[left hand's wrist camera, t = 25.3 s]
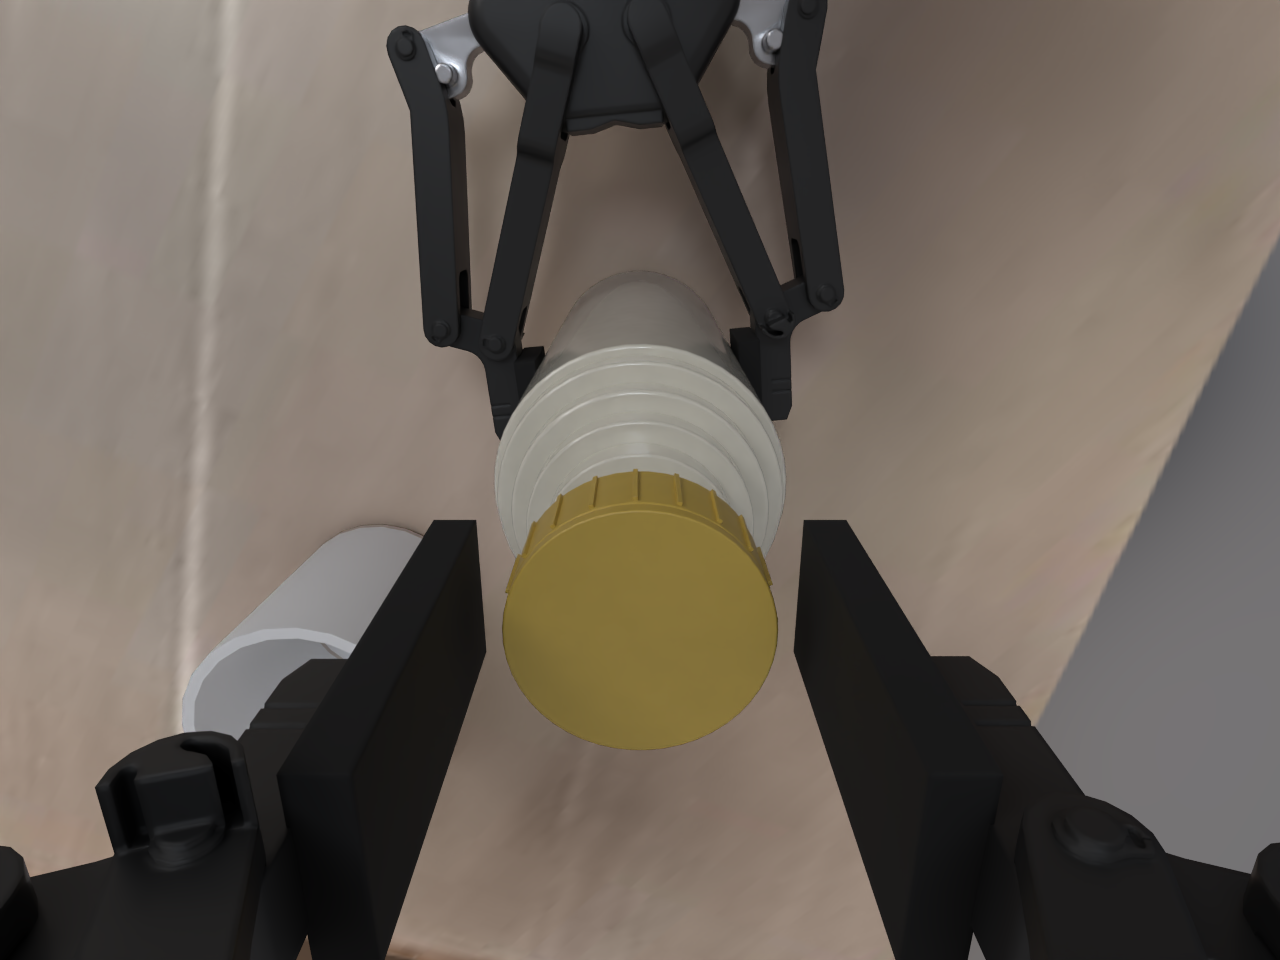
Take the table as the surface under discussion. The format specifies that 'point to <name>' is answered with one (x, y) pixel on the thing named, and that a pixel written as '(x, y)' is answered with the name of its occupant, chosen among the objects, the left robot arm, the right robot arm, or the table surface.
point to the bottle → (639, 409)
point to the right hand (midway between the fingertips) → (651, 508)
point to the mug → (297, 626)
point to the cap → (640, 612)
